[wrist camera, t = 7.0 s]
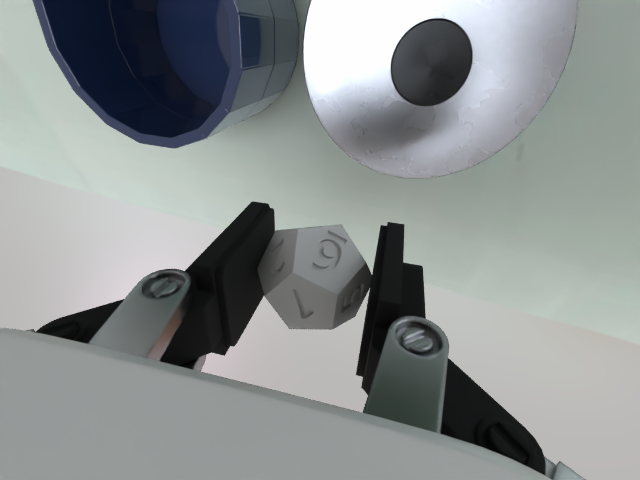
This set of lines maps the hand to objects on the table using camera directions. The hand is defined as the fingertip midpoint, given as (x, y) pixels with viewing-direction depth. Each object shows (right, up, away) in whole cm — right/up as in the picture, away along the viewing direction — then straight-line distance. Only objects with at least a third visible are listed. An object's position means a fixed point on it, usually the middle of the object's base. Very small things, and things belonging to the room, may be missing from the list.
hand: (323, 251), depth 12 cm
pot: (-7, +15, +11) cm, 20 cm away
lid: (+5, +9, +4) cm, 11 cm away
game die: (0, 0, 0) cm, 0 cm away
